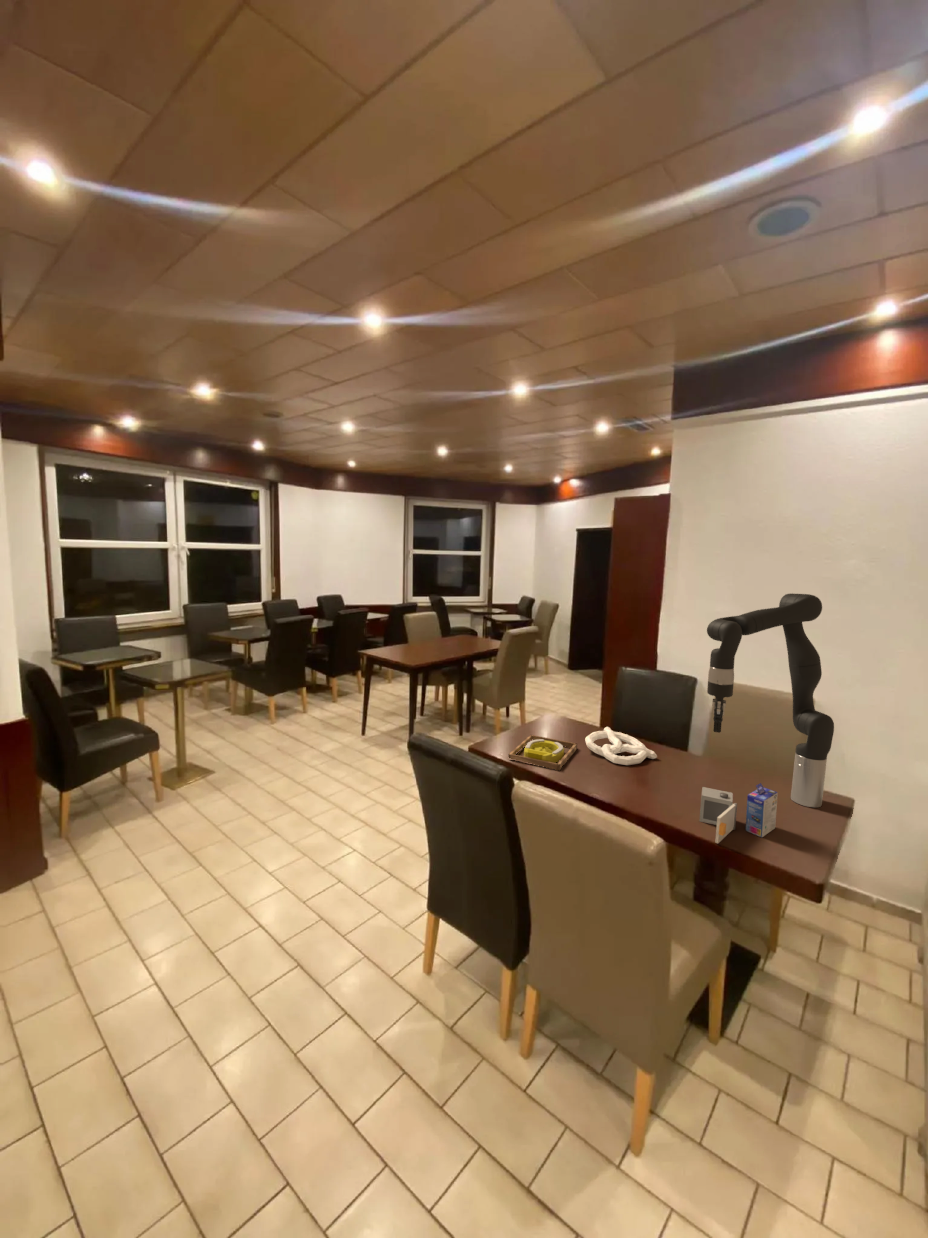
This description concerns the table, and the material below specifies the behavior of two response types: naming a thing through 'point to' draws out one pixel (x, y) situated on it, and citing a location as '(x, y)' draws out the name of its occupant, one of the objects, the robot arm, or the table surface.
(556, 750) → the ashtray
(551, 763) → the wooden tray
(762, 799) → the ink cartridge box
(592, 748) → the pretzel
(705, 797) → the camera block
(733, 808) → the door
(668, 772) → the table surface
